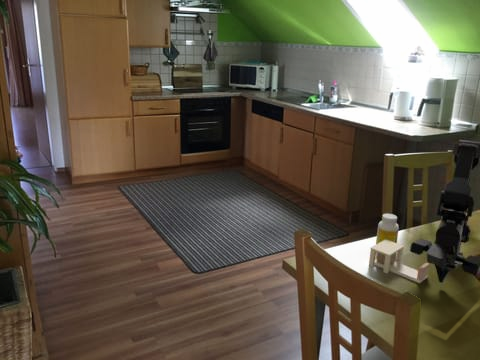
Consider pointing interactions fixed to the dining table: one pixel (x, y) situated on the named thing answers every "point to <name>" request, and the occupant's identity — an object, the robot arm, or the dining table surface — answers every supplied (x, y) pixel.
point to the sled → (403, 268)
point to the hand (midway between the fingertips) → (441, 282)
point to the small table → (386, 253)
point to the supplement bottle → (387, 229)
